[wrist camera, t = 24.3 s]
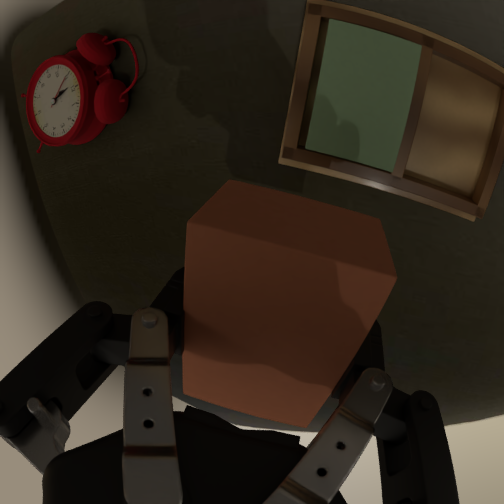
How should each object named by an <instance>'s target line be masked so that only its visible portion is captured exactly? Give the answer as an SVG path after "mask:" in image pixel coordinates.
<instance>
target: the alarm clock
mask: <svg viewBox="0 0 504 504" xmlns="http://www.w3.org/2000/svg"><path fill="white" fill-rule="evenodd" d="M107 38H108V36H105V37H104V36H102V35H100V34H97V33H87V34H85V35H83V36H82V37H80V38H79V40H78V41H77V44H76V46H77V48H78V49H77V50H73V51H71V52H69V53H67V54H65V55H57V56H54V57H51V58H50V59H47V60H46V61H44V62H43V63H42V64H41V65H40V66H39V67H38V68H37V70H36V71H35V73H34V74H33V76H32V78H31V80H30V83H29V86H28V91H27V95H25V94H22V95H21V97H24V96H25V97H26V112H27V117H28V121H29V124H30V127H31V129H32V131H33V133H34V134H35V136H36V137H37V138H38V139H39V140H40V141H41V144H40V147H39V149H38V150H37V153H40V151H41V150H40V149H41V147H42V145H43V143H44V144H46V145H49V146H62V145H65V144H67V143H69V144H74V145H79V144H83V143H86V142H89V141H91V140H93V139H94V138H95V137H97V136H98V135H99V134H100V133H101V132H102V130H103V129H104V127H105V126H106V124H111V123H115V122H117V121H119V120H120V119H121V118H122V117H123V116H124V114H125V113H126V111H127V107H128V91H129V90H130V89H131V88H132V87H133V86H134V84H135V83H136V81H137V78H138V73H139V65H138V60H137V55H136V52H135V50H134V48H133V46H132V44H131V43H130V42H129V41H128V40H126V39H124V38H118V39H115V40H112V41H109V40H108V39H107ZM116 41H124V42H126V43H127V44H128V45H129V47H130V49H131V51H132V53H133V56H134V60H135V65H136V74H135V78H134V80H133V82H132V84H131V85H130V86H129V87H128V88H126V86H125V84H124V83H123V82H121V81H120V80H117V79H113V74H112V71H111V69H110V66H109V64H111V63H112V62H113V60H114V59H115V57H116V50H115V47H114V45H113V44H112V43H114V42H116Z"/></svg>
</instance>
